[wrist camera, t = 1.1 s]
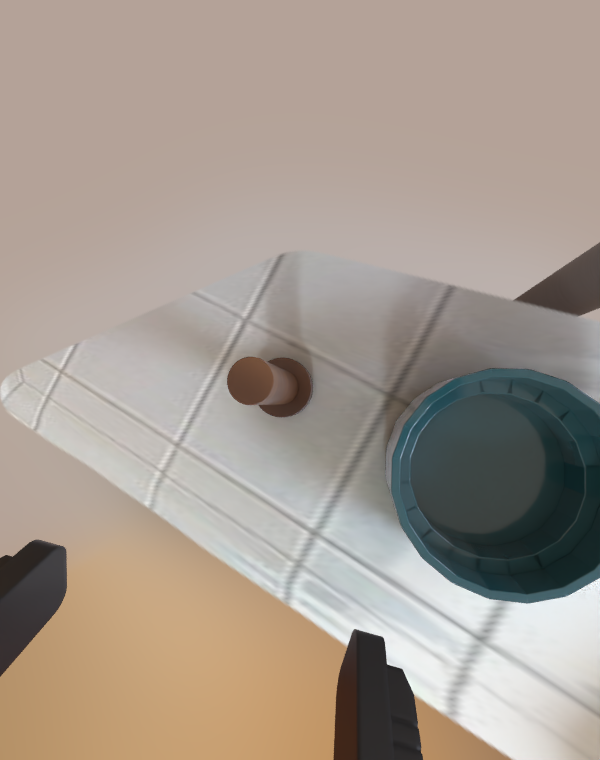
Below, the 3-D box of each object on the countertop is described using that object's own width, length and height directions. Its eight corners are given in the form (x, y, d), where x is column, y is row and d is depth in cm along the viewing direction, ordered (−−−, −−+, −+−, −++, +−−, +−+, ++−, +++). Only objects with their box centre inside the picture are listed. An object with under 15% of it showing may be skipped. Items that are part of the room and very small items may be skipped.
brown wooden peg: (279, 347, 34) (244, 322, 23) (324, 382, 33) (308, 373, 22) (245, 392, 34) (194, 388, 23) (288, 428, 33) (256, 440, 23)
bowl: (460, 339, 31) (484, 324, 25) (626, 455, 29) (695, 468, 23) (349, 478, 32) (346, 495, 26) (500, 603, 29) (536, 653, 23)
